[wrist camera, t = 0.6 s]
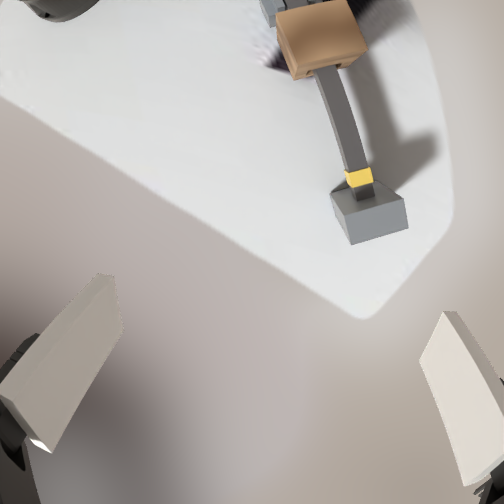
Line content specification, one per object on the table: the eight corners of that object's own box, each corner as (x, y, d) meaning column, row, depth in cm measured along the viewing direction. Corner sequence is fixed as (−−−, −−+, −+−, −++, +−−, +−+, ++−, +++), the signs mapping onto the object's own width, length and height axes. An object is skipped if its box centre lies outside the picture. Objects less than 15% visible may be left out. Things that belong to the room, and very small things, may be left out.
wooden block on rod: (277, 40, 26) (275, 13, 18) (330, 27, 25) (345, -2, 17) (293, 80, 28) (297, 65, 20) (346, 67, 27) (368, 49, 19)
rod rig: (260, 7, 26) (253, -25, 18) (309, -5, 25) (316, -39, 17) (335, 216, 36) (351, 245, 28) (381, 203, 35) (408, 228, 26)
